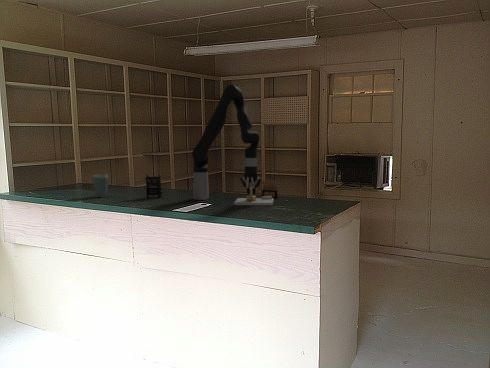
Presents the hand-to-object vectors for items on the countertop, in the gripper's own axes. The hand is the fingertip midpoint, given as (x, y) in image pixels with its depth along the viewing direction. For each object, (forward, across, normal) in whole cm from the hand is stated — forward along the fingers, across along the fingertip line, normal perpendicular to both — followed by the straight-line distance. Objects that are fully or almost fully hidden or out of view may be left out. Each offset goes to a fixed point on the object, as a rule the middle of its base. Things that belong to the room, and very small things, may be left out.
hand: (251, 194), depth 260 cm
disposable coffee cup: (+5, +103, +4) cm, 103 cm away
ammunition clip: (+5, -6, -19) cm, 21 cm away
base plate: (+5, -2, +1) cm, 6 cm away
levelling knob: (+4, 0, 0) cm, 4 cm away
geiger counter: (+5, +67, -2) cm, 67 cm away
